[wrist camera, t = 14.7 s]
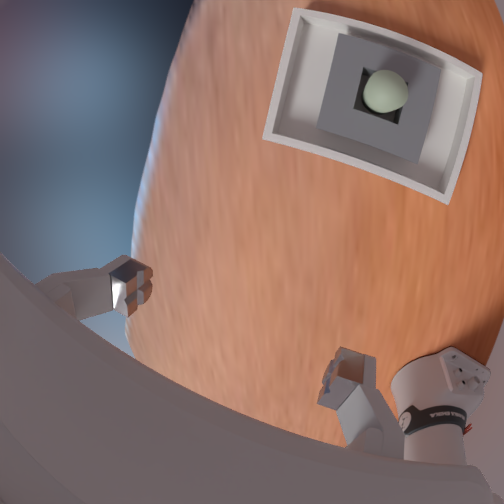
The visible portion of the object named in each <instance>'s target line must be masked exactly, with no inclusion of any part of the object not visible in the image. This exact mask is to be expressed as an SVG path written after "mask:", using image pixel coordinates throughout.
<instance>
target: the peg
mask: <svg viewBox="0 0 504 504" xmlns="http://www.w3.org/2000/svg"><path fill="white" fill-rule="evenodd" d="M407 99H408V87H407V85H406V83H405V81H404V80H403V78H402V77H401V76H400V75H398V74H397V73H395V72H393V71H390V70H379V71H377V72H375V73H373V74H372V75H371V77H370V78H369V80H368V82H367V84H366V86H365V88H364V90H363V92H362V95H361V100H362V103H363V105H364V107H365V108H366V109H367V110H368V111H369V112H371V113H373V114H376V115H382V114H385V113H388V112H390V111H393V110H396V109H398V108H400V107H402V106H403V105H404V104H405V103H406V101H407Z"/></svg>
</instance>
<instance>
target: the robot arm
mask: <svg viewBox="0 0 504 504" xmlns="http://www.w3.org/2000/svg"><path fill="white" fill-rule="evenodd" d="M152 277H153V270H152V269H151V267H149V266H147V265H145V264H143V263H141V262H139V261H137V260H135V259H133V258H131V257H129V256H127V255H121V256H120V257H118V258H116V259H115V260H113V261H112V262H110V263H108V264H107V265H105V266H104V267H102V268H100V269H98V268H93V269H84V270H77V271H69V272H61V273H54V274H51V275H50V276H48V277H46V278H45V279H43V280H41V281H40V282H38V283H37V284H35V285H34V284H33V283H32V282H31V281H30V280H28V279H27V278H26V277H25V276H24V275H23V274H22V273H21V272H20V271H19V270H17V268H16V267H14V266H13V265H12V264H11V263H10V262H9V261H8V260H7V259H6V258H5V256H4V255H3V254H2V253H0V504H504V500H503V499H502V498H501V497H500V496H499V495H497V494H495V493H493V492H492V490H491V488H490V486H489V484H488V482H487V481H486V479H485V477H484V476H483V474H482V472H481V471H480V470H479V469H478V468H477V467H476V466H471V465H467V463H466V456H465V449H464V441H463V435H464V434H466V433H467V432H468V431H469V430H471V429H472V427H471V428H470V429H469V427H470V426H471V424H469V425H468V426H467V427H466V428H465V424H466V420H467V418H469V416H470V415H471V414H472V413H473V412H474V411H475V410H476V409H477V408H478V406H479V405H480V404H481V402H482V400H483V397H484V386H485V385H486V383H487V382H488V380H489V378H490V374H491V372H490V369H489V368H487V367H485V366H484V365H482V364H481V363H479V362H477V361H476V360H474V359H472V358H471V357H469V356H468V355H466V354H464V353H463V352H461V351H459V350H458V349H456V348H454V347H449V348H446V349H444V350H443V351H441V352H439V353H437V354H434V355H430V356H426V357H422V358H419V359H417V360H415V361H413V362H411V363H409V364H407V365H406V366H404V367H403V368H402V369H401V370H400V371H399V372H398V373H397V374H396V375H395V377H394V378H393V380H392V383H391V391H392V394H393V396H394V399H395V402H396V406H397V411H398V417H399V421H398V422H397V420H396V418H395V416H394V415H393V413H392V411H391V410H390V408H389V406H388V404H387V403H386V401H385V399H384V398H383V396H382V394H381V393H380V391H379V390H378V389H375V388H376V358H375V357H372V356H369V355H366V354H362V353H359V352H356V351H353V350H350V349H347V348H344V347H341V346H340V347H339V348H338V350H337V351H336V353H335V358H334V359H333V360H331V361H330V363H329V365H328V366H327V368H326V371H325V373H324V376H323V380H322V383H323V387H322V388H321V390H320V392H319V397H318V401H317V404H319V405H322V406H325V407H328V408H331V409H334V410H337V411H336V413H337V416H338V419H339V421H340V424H341V427H342V430H343V433H344V436H345V439H346V442H347V445H348V446H347V447H345V448H343V447H339V446H335V445H332V444H328V443H324V442H321V441H317V440H314V439H311V438H308V437H304V436H301V435H298V434H295V433H292V432H289V431H286V430H283V429H280V428H278V427H275V426H272V425H269V424H267V423H264V422H261V421H259V420H256V419H254V418H251V417H249V416H246V415H244V414H241V413H239V412H237V411H234V410H232V409H230V408H227V407H225V406H223V405H221V404H219V403H216V402H214V401H212V400H210V399H208V398H206V397H204V396H202V395H199V394H197V393H195V392H193V391H191V390H189V389H188V388H186V387H184V386H182V385H180V384H178V383H176V382H174V381H172V380H170V379H169V378H167V377H165V376H163V375H161V374H160V373H158V372H156V371H154V370H153V369H151V368H149V367H147V366H146V365H144V364H142V363H141V362H139V361H137V360H136V359H134V358H133V357H131V356H129V355H128V354H126V353H125V352H123V351H121V350H120V349H118V348H117V347H115V346H114V345H112V344H111V343H109V342H108V341H106V340H105V339H103V338H102V337H100V336H99V335H97V334H96V333H95V332H93V331H92V330H90V329H89V328H88V327H86V326H85V325H83V324H82V323H81V322H80V321H79V320H83V319H86V318H89V317H93V316H96V315H99V314H102V313H106V312H109V311H112V310H113V309H114V310H115V311H117V312H119V313H121V314H122V315H124V316H126V317H129V316H130V315H131V314H133V313H134V312H135V311H136V310H137V307H138V305H141V304H144V303H145V302H146V301H147V300H148V299H149V297H150V295H151V292H152V283H151V281H150V279H151V278H152ZM467 429H468V430H467Z"/></svg>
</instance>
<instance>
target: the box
mask: <svg viewBox="0 0 504 504" xmlns="http://www.w3.org/2000/svg"><path fill="white" fill-rule="evenodd" d="M379 70H390V71H393V72H395V73H397V74H398V75H400V76H401V77H402V78H403V80H404V81H405V83H406V85H407V87H408V99H407V101H406V103H405V104H404V105H403V106H402V107H400V108H398V109H396V110H393V111H390V112H388V113H385V114H382V115H376V114H373V113H371V112H369V111H368V110H367V109H366V108H365V107H364V105H363V103H362V100H361V95H362V92H363V90H364V88H365V86H366V84H367V82H368V80H369V78H370V77H371V75H372V74H373V73H375V72H377V71H379ZM482 75H483V73H481V72H479V71H478V70H476V69H474V68H473V67H471V66H469V65H467V64H465V63H464V62H462V61H460V60H458V59H456V58H454V57H452V56H450V55H448V54H446V53H444V52H442V51H440V50H438V49H436V48H433V47H431V46H429V45H427V44H424V43H422V42H420V41H417V40H415V39H412V38H410V37H407V36H404V35H402V34H399V33H396V32H393V31H391V30H388V29H385V28H382V27H379V26H375V25H372V24H369V23H365V22H362V21H358V20H354V19H350V18H346V17H342V16H338V15H333V14H329V13H324V12H319V11H313V10H307V9H301V8H293V12H292V16H291V20H290V24H289V28H288V32H287V36H286V40H285V44H284V49H283V53H282V57H281V61H280V65H279V69H278V73H277V78H276V82H275V86H274V90H273V94H272V99H271V103H270V107H269V112H268V116H267V120H266V125H265V129H264V133H263V138H262V139H264V140H268V141H271V142H275V143H279V144H283V145H287V146H290V147H294V148H297V149H301V150H304V151H308V152H311V153H314V154H318V155H321V156H324V157H327V158H330V159H333V160H336V161H340V162H343V163H345V164H348V165H351V166H354V167H357V168H360V169H363V170H365V171H368V172H371V173H374V174H376V175H379V176H381V177H384V178H387V179H389V180H392V181H394V182H397V183H399V184H402V185H404V186H406V187H409V188H411V189H414V190H416V191H418V192H421V193H423V194H425V195H427V196H430V197H432V198H434V199H436V200H438V201H440V202H443V203H445V204H447V205H448V204H449V201H450V199H451V196H452V193H453V191H454V188H455V185H456V182H457V179H458V176H459V173H460V170H461V167H462V163H463V160H464V157H465V153H466V150H467V146H468V143H469V139H470V135H471V131H472V127H473V123H474V118H475V114H476V109H477V104H478V99H479V94H480V88H481V81H482Z"/></svg>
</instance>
